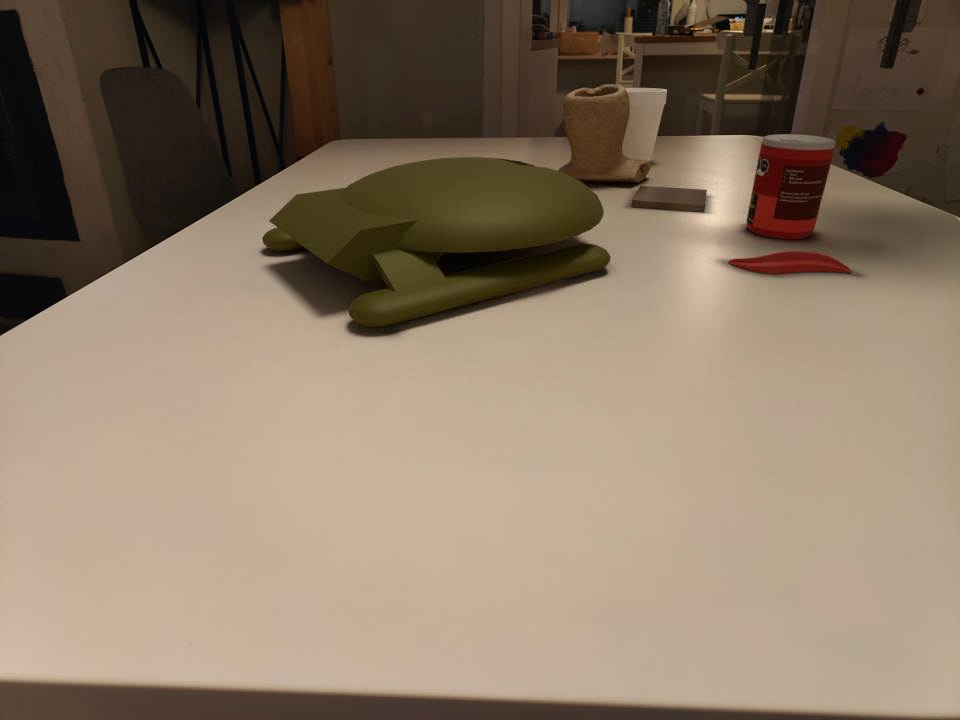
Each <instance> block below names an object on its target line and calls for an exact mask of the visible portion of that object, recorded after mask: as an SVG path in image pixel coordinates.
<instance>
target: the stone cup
mask: <svg viewBox="0 0 960 720" xmlns="http://www.w3.org/2000/svg"><path fill="white" fill-rule="evenodd" d="M625 88H626V87H624V85H620V84H602V85H600V86H597V87H595V88H589V87H581V88H577V89H575V90H572V91H570V92H569V93H568V94H567V95H566V96H565V98H564V100H563V104H562V111H563V112H562V113H563V125H564V130H565V134H566V137H567V141H568V143H569V147H570V160H569V162H568V163H566V164H565V165H562V166H561V167H559V168H558V170H557V171H560V172H562V173H564V174H567V175H569V176H571V177H573V178H575V179H577V180H579V181H584V182H585V181H588V182H601V183H602V182H603V183H605V182H606V183H640V182H642V181H643V180H644V179H646V177H647V175H649V172H650V170H651V168H652V161H651V160H637V159H630V158H627V157H625V156H624V155H623V152H622V145H623V140H624V136H625V132H626V128H627V124H628V120H629V115H630V101H629V96H628V93H627V91H626V89H625Z"/></svg>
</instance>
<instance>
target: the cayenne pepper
mask: <svg viewBox="0 0 960 720" xmlns="http://www.w3.org/2000/svg"><path fill="white" fill-rule="evenodd" d="M727 263H728V264H729V265H732V266H734V267H737V268H739V269H742V270H746V271H750V272H754V273H761V274H769V275H780V274H792V273H806V272H807V273H808V272H809V273H810V272H816V273H817V272H821V273H822V272H825V273H845V274H853V272H852V270H851V268H849V267H848V266H847V265H846V264H844V263H843V262H841V261H840V260H838V259H836V258H834V257H832V256H830V255H827V254H823V253H820V252H814V251H798V250H796V251H795V250H789V251H778V252H773V253H768V254H765V255H760V256H754V257H744V258H731V259H730V260H729V261H727Z"/></svg>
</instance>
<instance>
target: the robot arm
mask: <svg viewBox="0 0 960 720" xmlns="http://www.w3.org/2000/svg"><path fill="white" fill-rule="evenodd" d="M742 1H743V2H744V3H745V4H746V9H745V16H744V23H743V28H742V29H743V30H742V33H743V36H744V37H752V38H751V39H752V40H751V45H750V52H749V58H748V64H747V70H751V71H752V70H757V69H756V68H757V63H758V57H759V52H760V46H761V40H762V33H763V29H764V22H765V17H766V10H767V4H768V3H763V2H762V3H760V2H761V0H742ZM922 2H923V0H895V5H894V9H893V13H892V16H891V20H890V24H889V28H888V33H887V36H886V40H885V44H884V48H883V51H882V55H881V60H880V64H879V68H880V69H887V70H888V69H889V70H891V69H894V66H895V61H896V58H897V54H898V51H899V46H900V43H901V39H902V35H903V34H904V33H912V32H913V31H914V29H915V28H916V24H917V22H918V17H919V14H920V10H921V5H922Z"/></svg>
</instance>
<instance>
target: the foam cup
mask: <svg viewBox="0 0 960 720" xmlns="http://www.w3.org/2000/svg"><path fill="white" fill-rule="evenodd" d="M624 88H625V89H626V91H627V93H628V96H629V101H630V115H629V120H628V124H627V128H626V132H625V136H624V140H623V145H622V152H623V155H624V156H625V157H627V158H630V159H637V160H650V161H651V160H652V158H653V153H654V149H655V145H656V140H657V137H658V133H659V129H660V124H661V121H662V116H663V111H664V109H665V105H666V104H667V95H668V89H665V88H657V87H656V88H655V87H654V88H653V87H624Z"/></svg>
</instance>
